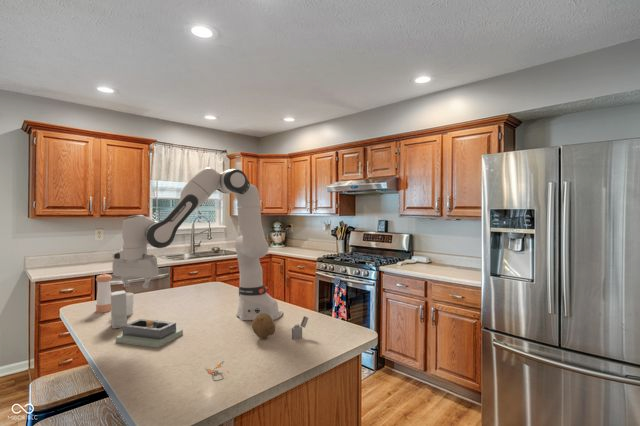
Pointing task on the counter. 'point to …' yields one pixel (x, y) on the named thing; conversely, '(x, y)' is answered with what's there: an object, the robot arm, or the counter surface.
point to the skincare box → (118, 309)
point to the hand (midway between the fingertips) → (136, 287)
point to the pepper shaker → (103, 293)
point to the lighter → (299, 329)
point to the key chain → (216, 372)
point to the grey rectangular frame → (149, 329)
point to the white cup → (129, 303)
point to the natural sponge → (263, 326)
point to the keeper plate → (148, 341)
